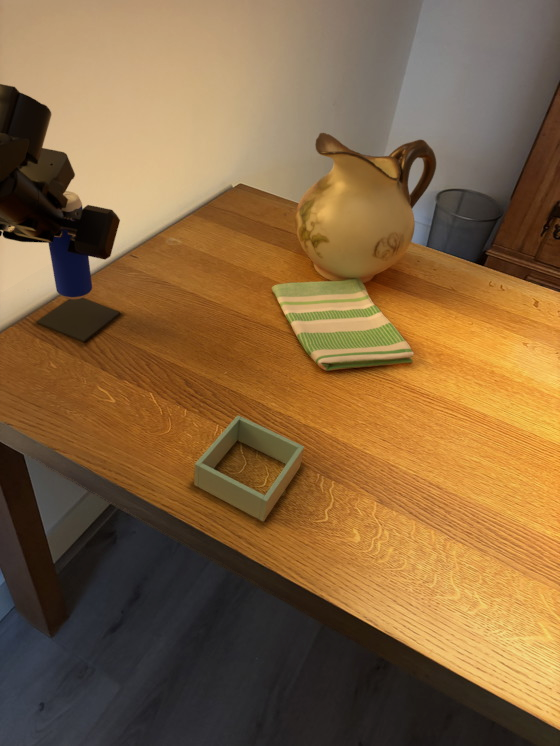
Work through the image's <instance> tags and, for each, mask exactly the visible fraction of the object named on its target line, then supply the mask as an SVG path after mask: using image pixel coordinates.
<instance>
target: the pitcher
mask: <svg viewBox="0 0 560 746" xmlns="http://www.w3.org/2000/svg"><path fill="white" fill-rule="evenodd" d="M314 146H315V151H316V152H317V154H319V155H320V156H323V157H327V158H330V159H332V161H333V165H332V168H331V169H330V171H328V173H326V174H325V175H324V176H322V177H321V178H320V179H318V180H317V181H316V182H315V183H313V184H312V185H311V186H310V187H309V188H308V189H307V190H306V192H305V193H304V194H303V195H302V197H301V198H300V200H299V202H298V204H297V207H296V210H295V215H294V216H295V218H294V224H295V232H296V235H297V239H298V242H299V244H300V246H301V248H302V250H303V251H304V253H305V254H306V256H307V257H308V259H309V260H310V261H311V262H312V263H313V268H314V270H315V271H316V273H317V274H318V275H320V276H321V277H322V278H324V279H325V280H327V281H343V280H347V279H352V278H359V279H360V280H361V281H362V283H363V284H366V283H368V282H370V281H371V280H372V279H374V277H375V276H376V275H379V274H380V273H382V272H384V271H387V270H388V269H389V268H391V267H393V265H395V264H397V262H398V261H399V260H400V259H401V258H402V257H403V256H404V255H405V253H406V251H407V250H408V248H409V247H410V245H411V242H412V241H413V239H414V238H413V237H414V233H415V226H416V225H415V224H416V221H415V214H414V212H413V208H414V207H415V205H416V204H417V203H418V201H419V200H420V199H421V198H422V196H423V195H424V193H425V192H426V191H427V189H428V188H429V186H430V184H431V183H432V180H433V179H434V177H435V174H436V170H437V158H436V154H435V152H434V150H433V148H432V147H431V146H430V145H429V144H428V143H427V142H426V141H425V140H424V139H421V138H420V139H416V140H413V141H410V142H406V143H403V144H401V145H400V146H398V147H396V148H395V149H394V150H393V151H392V152H391V153H390V154H389V155H382V156H380V155H379V156H377V155H376V156H374V155H369V154H368V155H367V154H362V153H360V152H358V151H355V150H353V149H350V148H349V147H348V146H346V145H345V144H343V143H342V142H341V141H340V140H338V138H336V137H334V136H333V135H331V134H329V133H325V132H320V133H319V134H318V136H317V138H316V139H315V144H314ZM417 159H422V162H423V169H422V172H421V176H420V178H419V179H418V182H417V183H416V185H415V186H414V188H413V190H412V191H411V192H410V189H409V178H410V172H411V168H412V167H413V164H414V162H415V161H416V160H417Z"/></svg>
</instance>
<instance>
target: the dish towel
mask: <svg viewBox="0 0 560 746" xmlns="http://www.w3.org/2000/svg"><path fill="white" fill-rule="evenodd" d="M271 291H272V293H273V295H274V296H275V298H276V300H277V302H278V304H279V307H280V308H281V310H282V312H283V314H284V316H285V318H286V320H287V321H288V323H289V325H290V326H291V329H292V331H293V333H294V335H295V336H296V339H297V340H298V342H299V344H300V345H301V346H302V348H303V350H304V351H305V353H306V354H307V355H308V356H309V357H310V358H311V359H312V361H314V363H315V364H316V366H318V367H319V368H321V370H324V371H326V372H329V371H335V370H336V371H337V370H345V369H354V368H356V369H357V368H367V367H377V366H378V367H379V366H389V365H399V364H410V363H413V362H414V361H413V359H412V358H414V355H415V353H414V351H413V350H412V348H411V346H410V344H409V343H408V342H407V340H406V339H405V337H403V336H402V334H401V332H400V331H399V330H398V329H397V328H396V327H395V325H394V324H393V323H392V322H391V321H390V320H389V319H388V318H387V317H386V316H385V315H384V314H383V312H382V310H381V309H380V308H379V307H378V306H377V305H376V304H375V303H374V302H373V300H372V299H371V297H370V295H369V293H368V289H367V288H366V285H365V283H362V281H361V280H360V279H359V278H352V279H347V280H343V281H330V280H322V281H321V280H320V281H302V282H285V283H284V282H283V283H277V284H275V285H273V286H272V287H271Z"/></svg>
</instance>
